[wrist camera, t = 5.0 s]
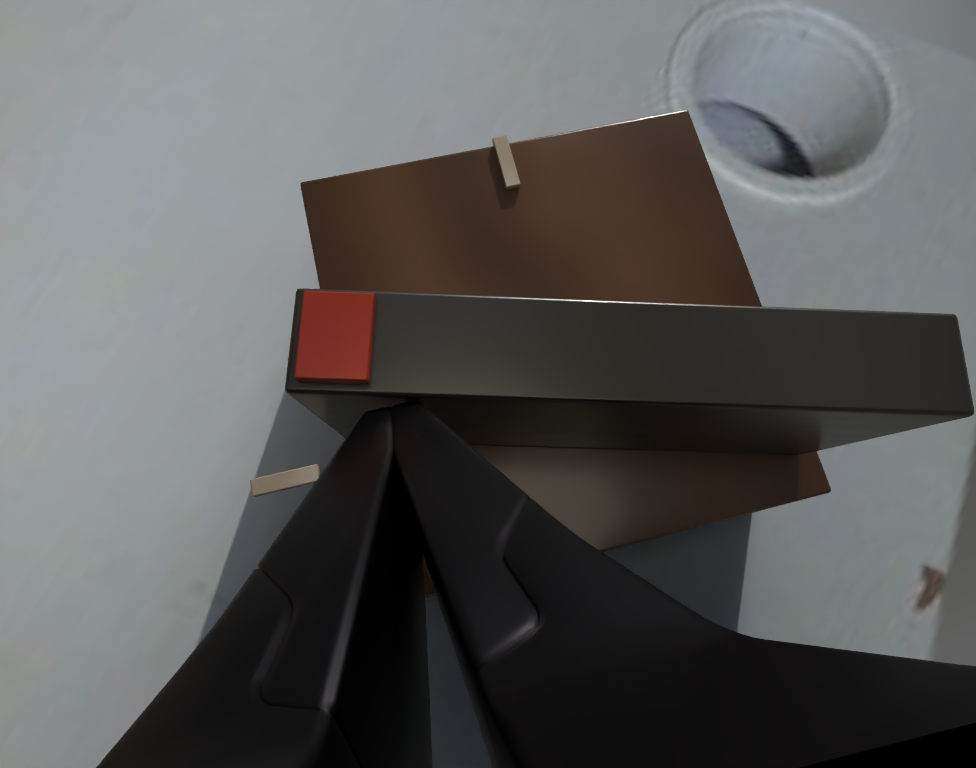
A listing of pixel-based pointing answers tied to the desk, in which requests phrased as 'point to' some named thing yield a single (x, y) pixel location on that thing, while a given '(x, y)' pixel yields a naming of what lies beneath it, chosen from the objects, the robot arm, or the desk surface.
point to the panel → (564, 295)
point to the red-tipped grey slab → (627, 370)
